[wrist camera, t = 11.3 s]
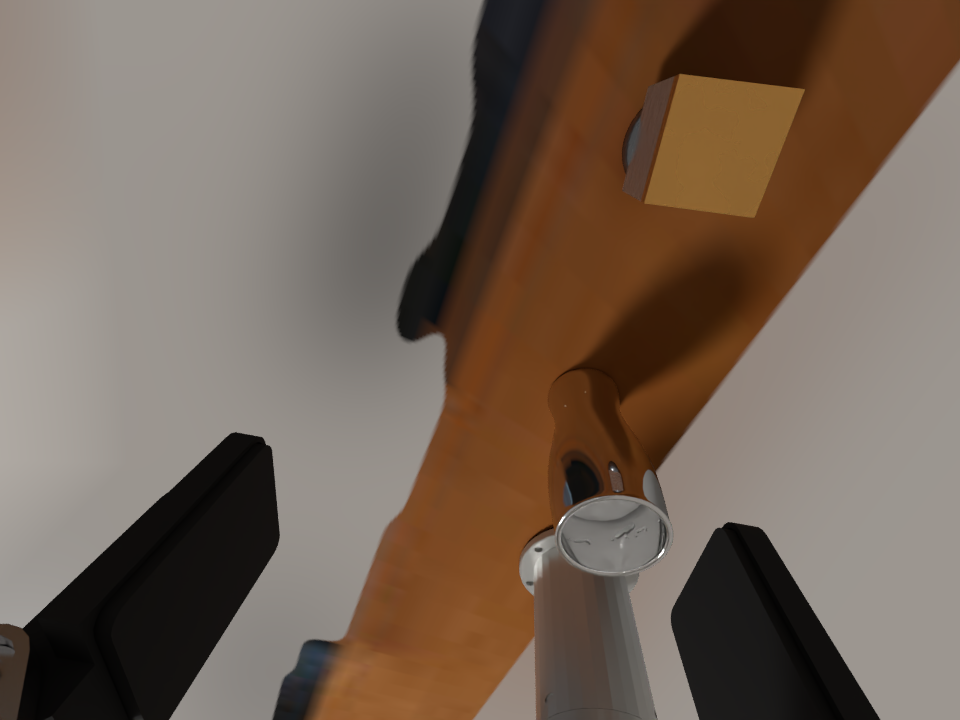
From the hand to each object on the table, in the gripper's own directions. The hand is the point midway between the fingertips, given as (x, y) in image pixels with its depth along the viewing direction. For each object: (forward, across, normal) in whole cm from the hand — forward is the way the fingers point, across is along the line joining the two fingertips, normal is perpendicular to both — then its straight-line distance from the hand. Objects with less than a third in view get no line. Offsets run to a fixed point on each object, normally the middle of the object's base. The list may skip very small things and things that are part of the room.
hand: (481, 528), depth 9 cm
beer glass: (+27, -8, +11) cm, 30 cm away
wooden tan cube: (+24, -9, -9) cm, 27 cm away
